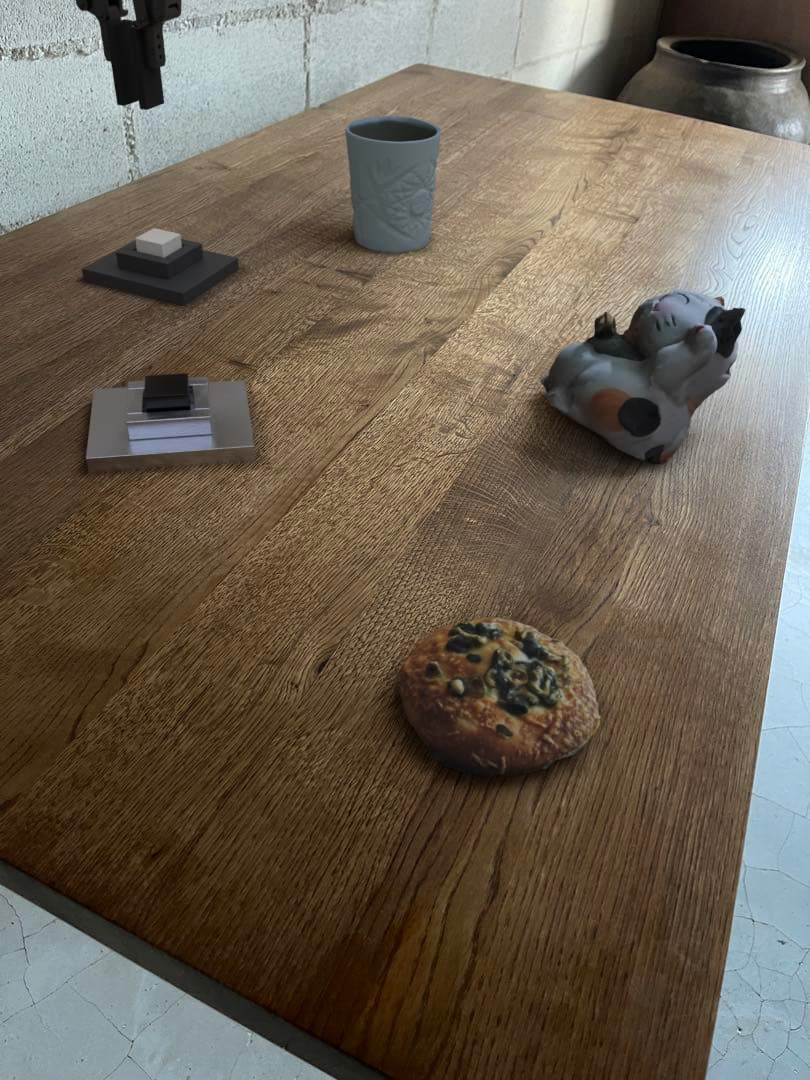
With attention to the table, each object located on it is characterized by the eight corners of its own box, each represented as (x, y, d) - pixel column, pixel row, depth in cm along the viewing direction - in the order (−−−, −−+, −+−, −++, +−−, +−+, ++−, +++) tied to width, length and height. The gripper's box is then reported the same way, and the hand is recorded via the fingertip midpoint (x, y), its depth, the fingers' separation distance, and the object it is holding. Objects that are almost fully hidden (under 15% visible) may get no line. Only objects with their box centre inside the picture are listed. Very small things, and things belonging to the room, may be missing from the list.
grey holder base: (88, 474, 67) (81, 439, 65) (96, 404, 74) (90, 371, 73) (255, 461, 69) (252, 427, 67) (246, 394, 77) (243, 362, 75)
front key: (147, 414, 69) (144, 396, 68) (147, 393, 71) (144, 375, 70) (190, 411, 69) (188, 393, 68) (189, 390, 72) (187, 372, 71)
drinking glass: (435, 257, 101) (442, 143, 93) (343, 254, 101) (343, 139, 93) (432, 224, 109) (439, 116, 101) (347, 221, 109) (347, 112, 101)
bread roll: (380, 765, 47) (389, 691, 45) (410, 638, 57) (420, 571, 54) (594, 806, 47) (617, 733, 44) (589, 670, 56) (607, 603, 54)
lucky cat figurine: (541, 373, 81) (636, 231, 76) (655, 447, 81) (758, 312, 76) (524, 411, 68) (638, 242, 62) (660, 500, 68) (787, 340, 62)
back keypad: (83, 281, 92) (78, 252, 91) (143, 248, 100) (139, 221, 98) (184, 306, 89) (181, 277, 87) (239, 270, 96) (237, 242, 94)
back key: (136, 253, 92) (134, 238, 91) (156, 242, 94) (154, 227, 93) (163, 259, 91) (161, 244, 90) (182, 248, 93) (180, 233, 92)
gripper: (209, -226, 70) (232, 106, 85) (52, -234, 74) (100, 84, 89) (150, -230, 64) (186, 126, 79) (-16, -239, 69) (47, 101, 83)
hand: (140, 103), depth 84 cm, fingers closed
